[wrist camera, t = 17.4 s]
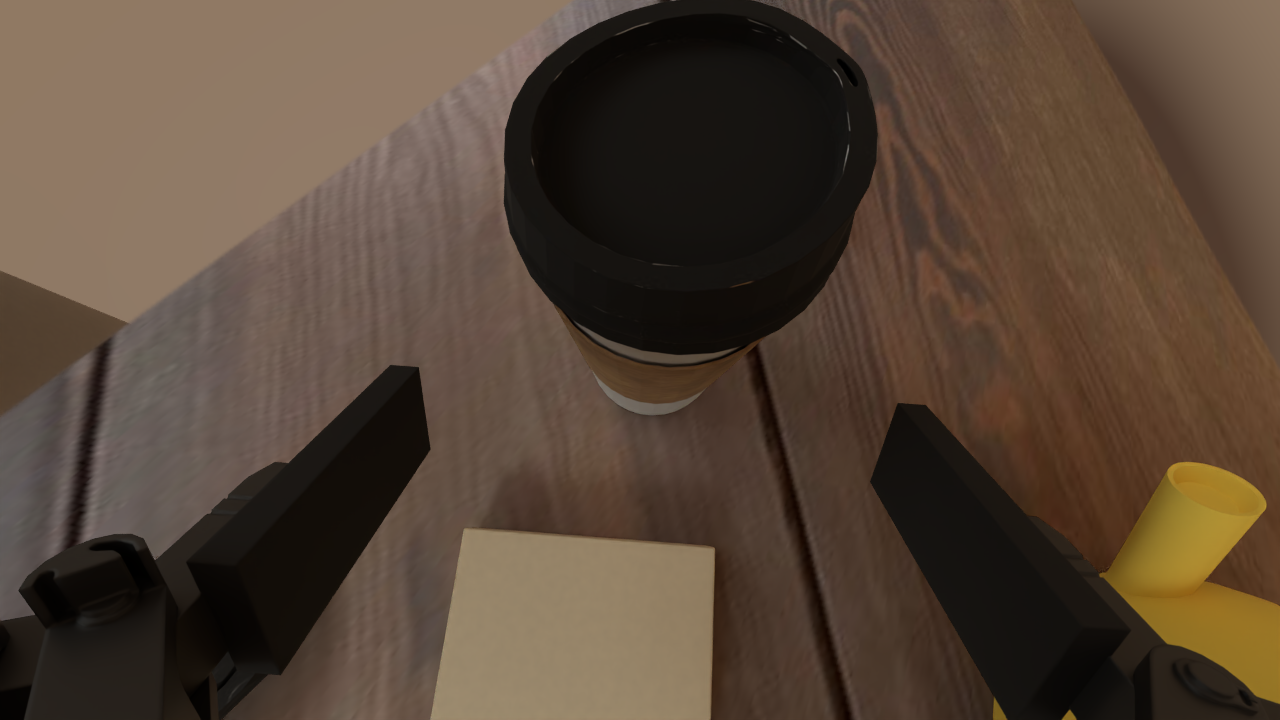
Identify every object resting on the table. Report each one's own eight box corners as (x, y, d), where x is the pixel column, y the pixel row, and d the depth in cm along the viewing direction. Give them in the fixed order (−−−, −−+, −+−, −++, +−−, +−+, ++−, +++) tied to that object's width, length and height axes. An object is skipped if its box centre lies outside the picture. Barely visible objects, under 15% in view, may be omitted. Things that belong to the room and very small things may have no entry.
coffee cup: (767, 405, 24) (981, 224, 10) (599, 470, 23) (556, 373, 8) (698, 258, 26) (786, -63, 12) (542, 309, 25) (434, 21, 11)
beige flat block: (440, 747, 19) (420, 772, 17) (477, 527, 22) (463, 527, 20) (701, 767, 19) (709, 793, 17) (707, 545, 22) (715, 547, 20)
